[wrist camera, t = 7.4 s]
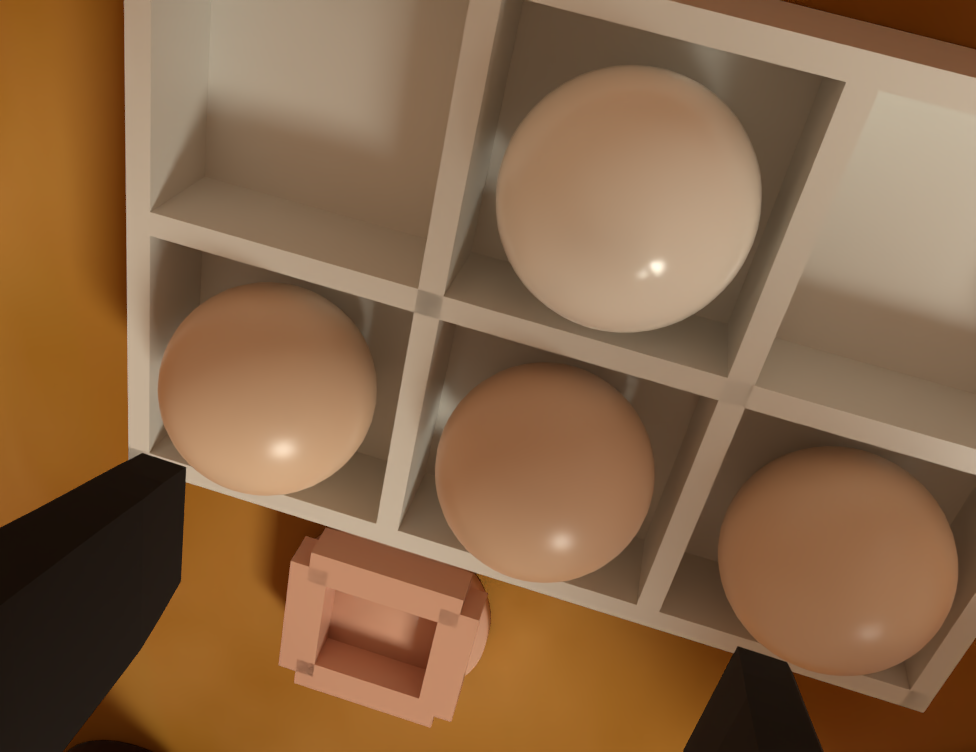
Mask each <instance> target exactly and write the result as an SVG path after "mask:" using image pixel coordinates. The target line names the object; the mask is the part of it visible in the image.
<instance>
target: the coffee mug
mask: <svg viewBox="0 0 976 752" xmlns="http://www.w3.org/2000/svg"><path fill="white" fill-rule="evenodd" d="M67 752H151V751H149V750H146V749H143V748H140V747H138V746H135V745H130V744H126V743H122V742H116V741H106V740H100V741H89V742H85V743H81V744H78V745H76V746H75V747H73V748H71V749H70V750H68V751H67Z"/></svg>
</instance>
